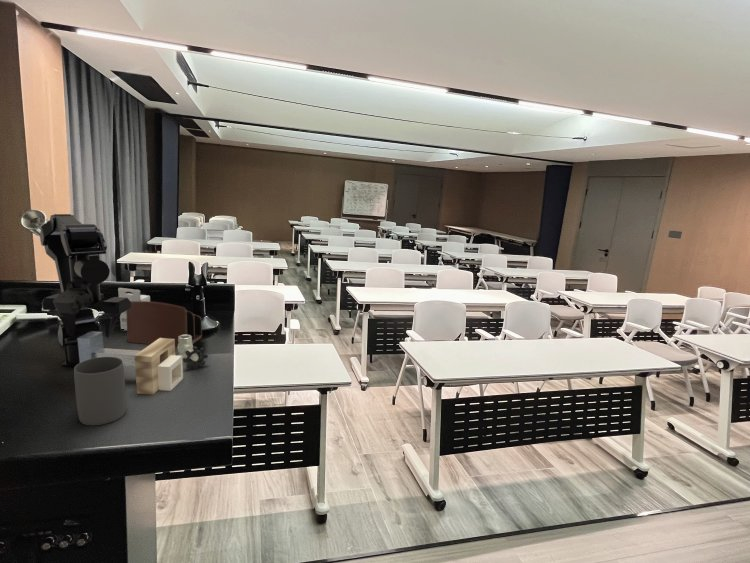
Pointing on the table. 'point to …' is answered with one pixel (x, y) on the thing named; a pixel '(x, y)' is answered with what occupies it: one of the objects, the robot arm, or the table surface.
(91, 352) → the pale grey block
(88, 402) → the mug
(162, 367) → the block
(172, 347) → the wooden block
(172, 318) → the letter holder
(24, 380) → the table surface
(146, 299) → the ink box
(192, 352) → the valve
